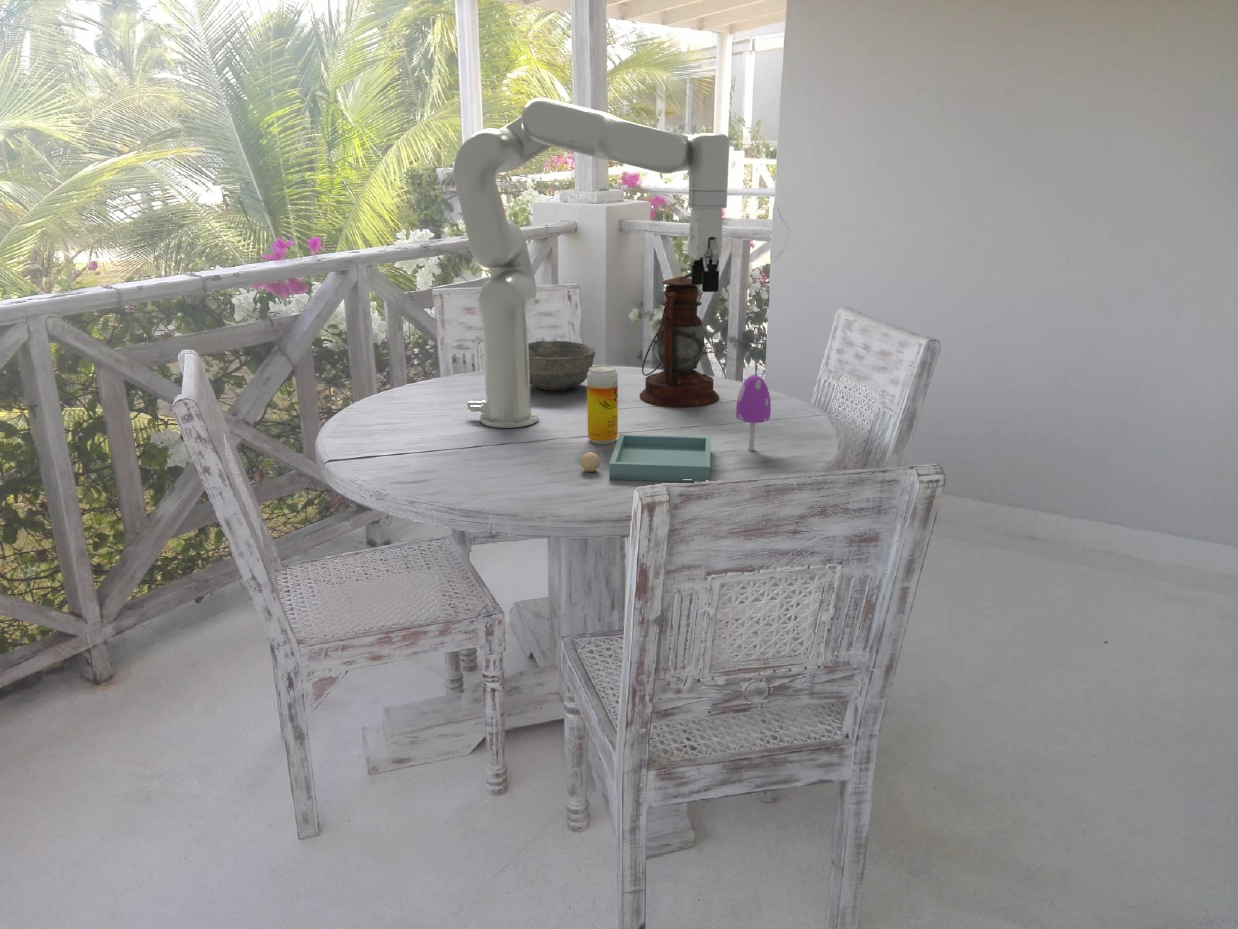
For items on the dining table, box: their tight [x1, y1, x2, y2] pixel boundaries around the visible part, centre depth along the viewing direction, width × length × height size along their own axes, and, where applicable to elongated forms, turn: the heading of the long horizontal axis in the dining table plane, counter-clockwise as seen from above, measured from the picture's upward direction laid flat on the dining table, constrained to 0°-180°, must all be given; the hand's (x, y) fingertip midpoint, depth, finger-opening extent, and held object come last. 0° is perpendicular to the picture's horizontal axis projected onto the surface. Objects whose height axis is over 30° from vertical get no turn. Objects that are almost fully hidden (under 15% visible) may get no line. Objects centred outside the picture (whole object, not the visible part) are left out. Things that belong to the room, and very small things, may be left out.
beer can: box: [586, 365, 619, 445], centre depth 190 cm, size 6×6×15 cm
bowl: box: [529, 340, 597, 391], centre depth 231 cm, size 21×21×10 cm
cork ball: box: [580, 451, 601, 473], centre depth 174 cm, size 4×4×4 cm
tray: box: [608, 433, 712, 483], centre depth 177 cm, size 18×18×3 cm
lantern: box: [639, 272, 720, 409], centre depth 220 cm, size 19×19×30 cm
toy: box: [735, 374, 772, 452], centre depth 184 cm, size 7×7×15 cm
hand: (704, 287), depth 190 cm, fingers open, 9 cm apart
